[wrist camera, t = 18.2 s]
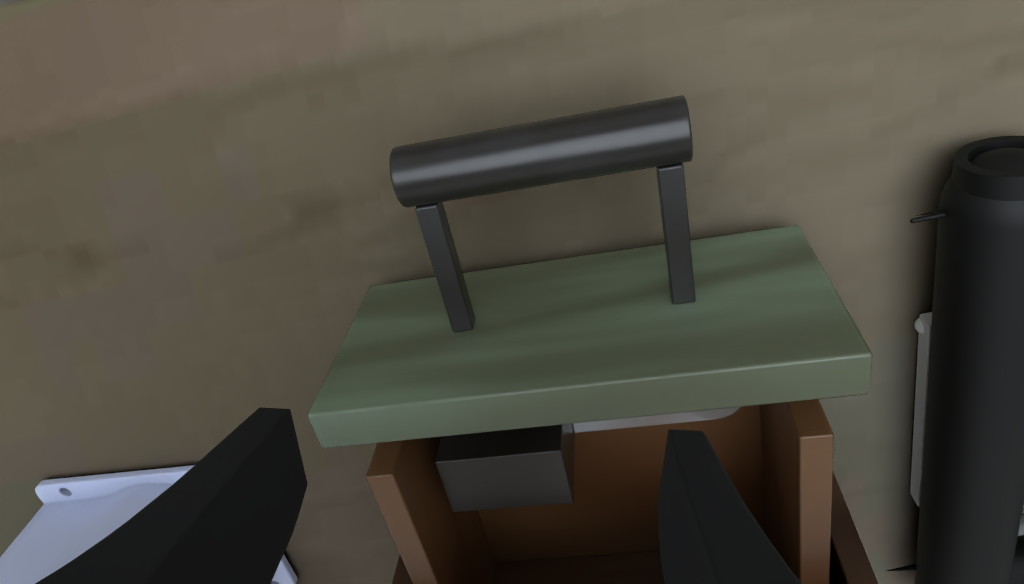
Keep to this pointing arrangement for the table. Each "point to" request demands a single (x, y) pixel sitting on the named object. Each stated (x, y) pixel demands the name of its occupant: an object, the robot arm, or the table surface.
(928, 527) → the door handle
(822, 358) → the drawer
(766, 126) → the table surface
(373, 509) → the table surface
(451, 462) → the grey sheathed bar
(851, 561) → the cabinet
